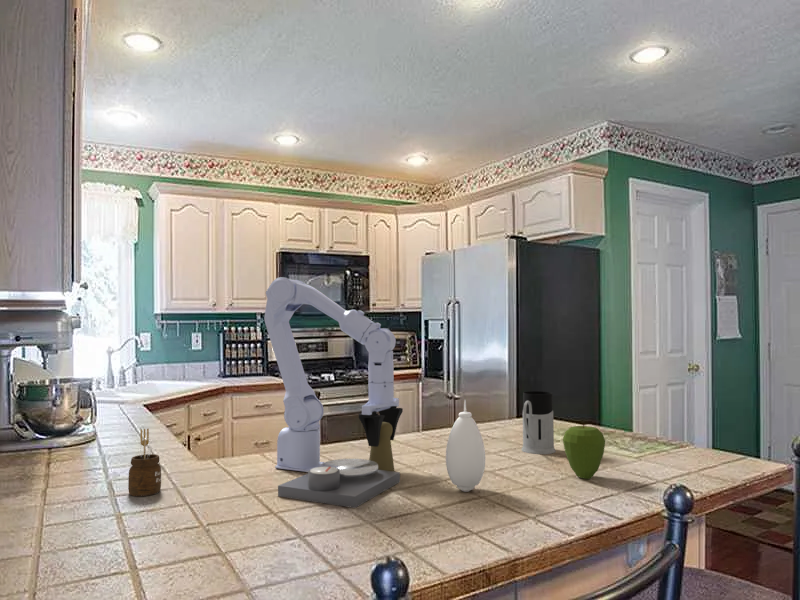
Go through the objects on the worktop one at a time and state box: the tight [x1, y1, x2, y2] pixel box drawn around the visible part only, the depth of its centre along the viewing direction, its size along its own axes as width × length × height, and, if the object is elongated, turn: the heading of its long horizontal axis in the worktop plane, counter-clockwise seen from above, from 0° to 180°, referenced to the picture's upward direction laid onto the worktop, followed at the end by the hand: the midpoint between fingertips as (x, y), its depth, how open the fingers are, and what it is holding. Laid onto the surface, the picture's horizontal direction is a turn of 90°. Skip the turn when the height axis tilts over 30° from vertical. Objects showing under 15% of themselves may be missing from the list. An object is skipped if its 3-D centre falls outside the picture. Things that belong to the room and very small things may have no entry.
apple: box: [562, 424, 606, 480], centre depth 125 cm, size 9×8×12 cm
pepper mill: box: [368, 422, 396, 472], centre depth 131 cm, size 6×6×11 cm
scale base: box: [277, 467, 401, 509], centre depth 117 cm, size 17×19×5 cm
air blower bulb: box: [445, 399, 486, 493], centre depth 116 cm, size 8×8×18 cm
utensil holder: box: [127, 428, 162, 497], centre depth 115 cm, size 6×6×12 cm
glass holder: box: [520, 390, 556, 455], centre depth 150 cm, size 9×14×15 cm, turn 148°
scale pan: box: [320, 458, 378, 478], centre depth 120 cm, size 12×12×1 cm
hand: (381, 442), depth 131 cm, fingers open, 7 cm apart
